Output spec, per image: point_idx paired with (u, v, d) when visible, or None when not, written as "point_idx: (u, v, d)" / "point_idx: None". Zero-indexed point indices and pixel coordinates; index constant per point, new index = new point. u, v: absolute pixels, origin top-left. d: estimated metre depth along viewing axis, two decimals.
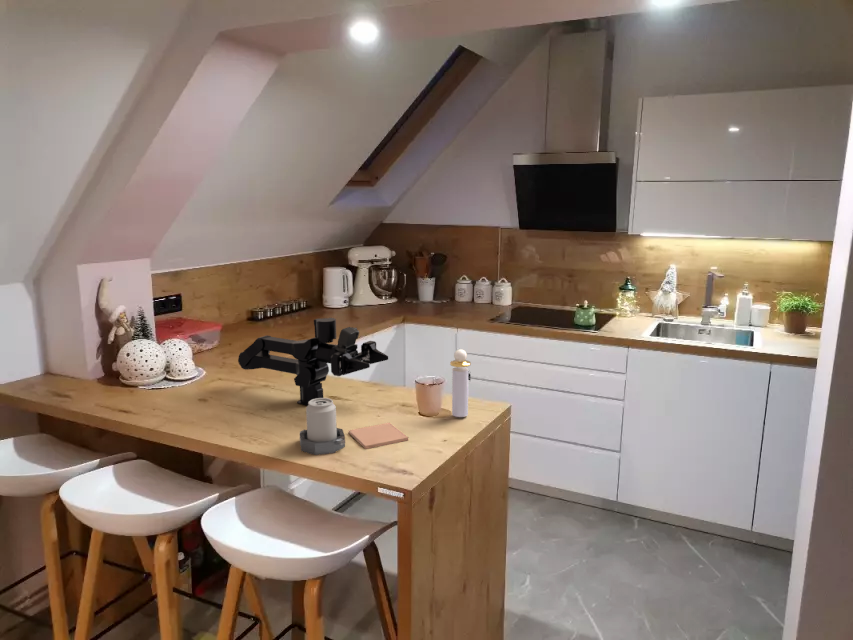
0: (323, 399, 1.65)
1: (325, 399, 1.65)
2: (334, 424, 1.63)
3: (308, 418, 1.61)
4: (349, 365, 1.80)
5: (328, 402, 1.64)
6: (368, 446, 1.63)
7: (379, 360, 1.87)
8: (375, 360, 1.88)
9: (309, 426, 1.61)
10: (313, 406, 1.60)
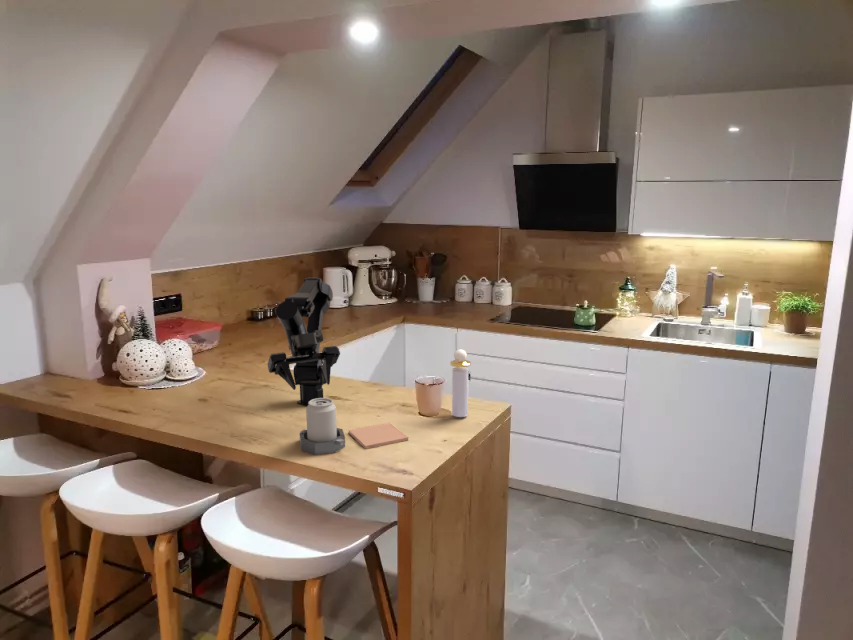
0: (323, 399, 1.65)
1: (325, 399, 1.65)
2: (334, 424, 1.63)
3: (308, 418, 1.61)
4: (284, 371, 1.70)
5: (328, 402, 1.64)
6: (368, 446, 1.63)
7: (324, 376, 1.73)
8: (323, 371, 1.74)
9: (309, 426, 1.61)
10: (313, 406, 1.60)
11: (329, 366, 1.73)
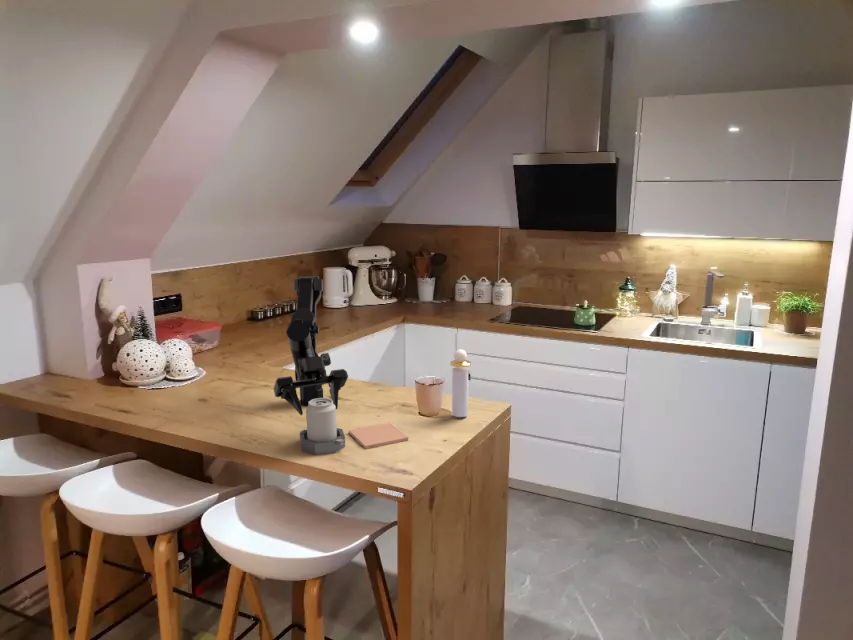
0: (323, 399, 1.65)
1: (325, 399, 1.65)
2: (334, 424, 1.63)
3: (308, 418, 1.61)
4: (291, 395, 1.65)
5: (328, 402, 1.64)
6: (368, 446, 1.63)
7: None
8: (331, 395, 1.70)
9: (309, 426, 1.61)
10: (313, 406, 1.60)
11: (337, 390, 1.68)
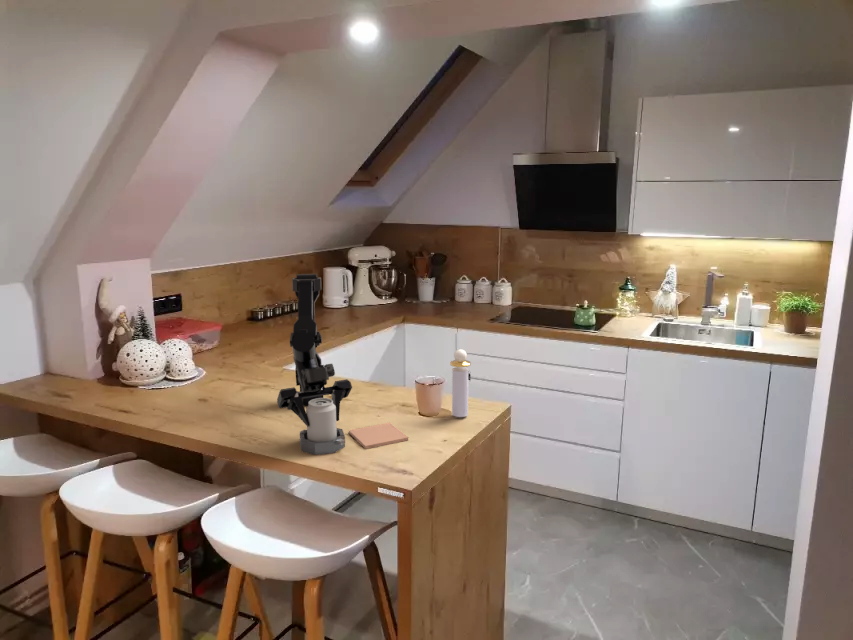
0: (323, 399, 1.65)
1: (325, 399, 1.65)
2: (334, 424, 1.63)
3: (308, 418, 1.61)
4: None
5: (328, 402, 1.64)
6: (368, 446, 1.63)
7: None
8: None
9: (309, 426, 1.61)
10: (313, 406, 1.60)
11: (338, 401, 1.66)
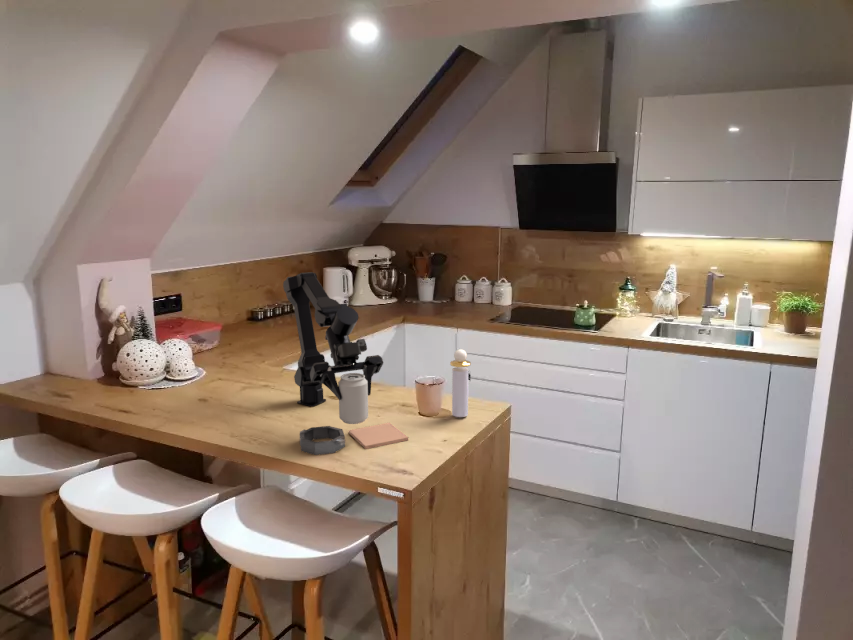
0: (355, 374, 1.67)
1: (357, 374, 1.67)
2: (366, 398, 1.65)
3: None
4: (330, 380, 1.66)
5: (360, 377, 1.66)
6: (368, 446, 1.63)
7: None
8: None
9: (341, 400, 1.64)
10: (345, 380, 1.62)
11: (370, 376, 1.68)
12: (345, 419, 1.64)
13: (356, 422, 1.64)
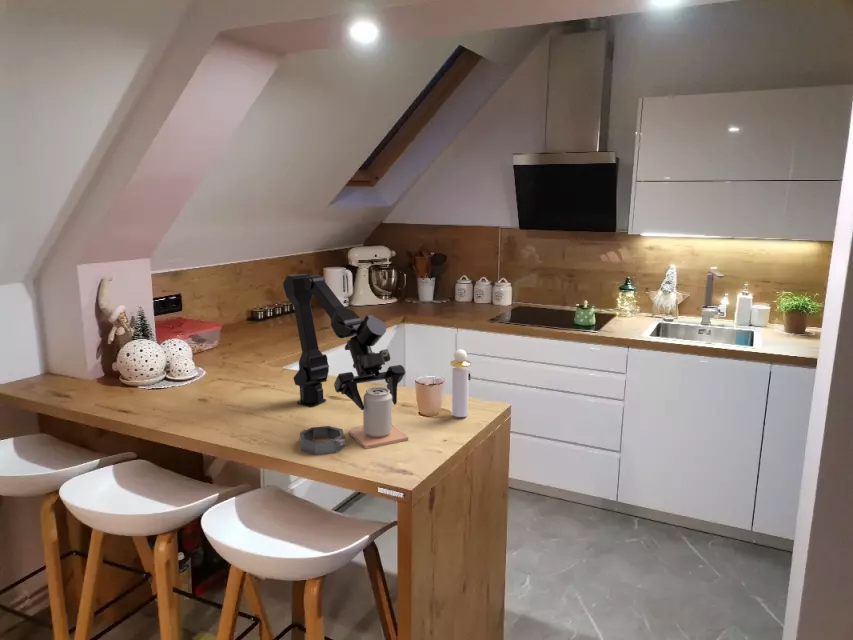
0: (379, 388, 1.71)
1: (381, 388, 1.71)
2: (390, 413, 1.68)
3: (366, 406, 1.67)
4: (351, 390, 1.68)
5: (385, 391, 1.69)
6: (368, 446, 1.63)
7: None
8: None
9: (366, 414, 1.67)
10: (371, 395, 1.66)
11: (395, 385, 1.72)
12: (370, 432, 1.67)
13: (380, 435, 1.67)
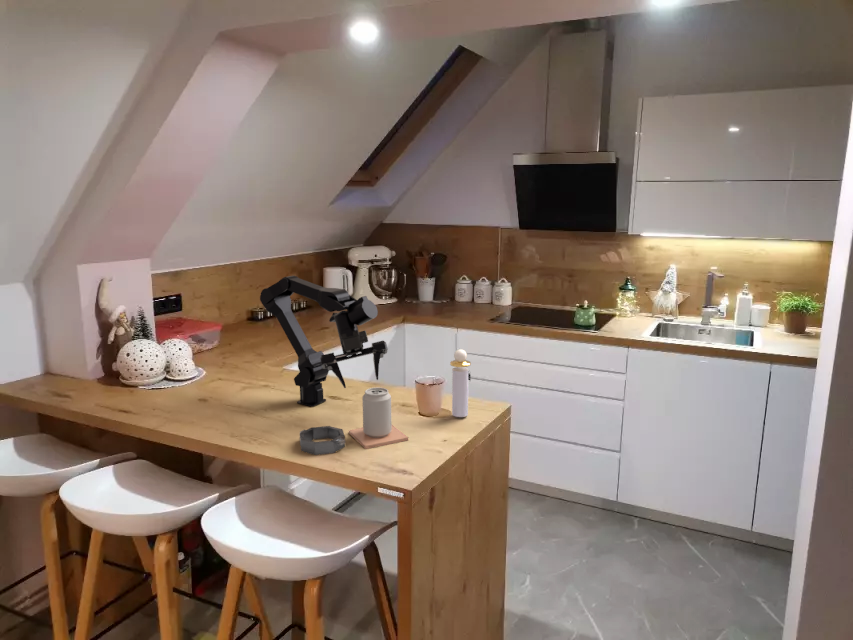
0: (378, 388, 1.71)
1: (380, 388, 1.71)
2: (389, 412, 1.68)
3: (365, 407, 1.67)
4: None
5: (383, 391, 1.69)
6: (368, 446, 1.63)
7: None
8: None
9: (366, 414, 1.67)
10: (370, 395, 1.66)
11: (377, 362, 1.80)
12: (369, 433, 1.67)
13: (380, 435, 1.67)
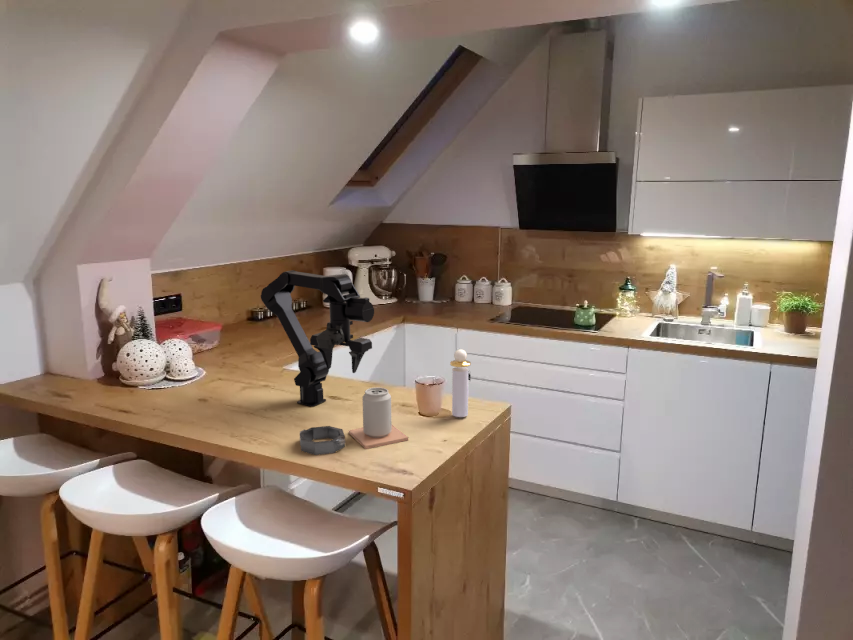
0: (378, 388, 1.71)
1: (380, 388, 1.71)
2: (389, 413, 1.68)
3: (365, 407, 1.67)
4: None
5: (383, 391, 1.69)
6: (368, 446, 1.63)
7: None
8: None
9: (366, 414, 1.67)
10: (370, 395, 1.66)
11: (354, 359, 1.84)
12: (369, 433, 1.67)
13: (380, 435, 1.67)
